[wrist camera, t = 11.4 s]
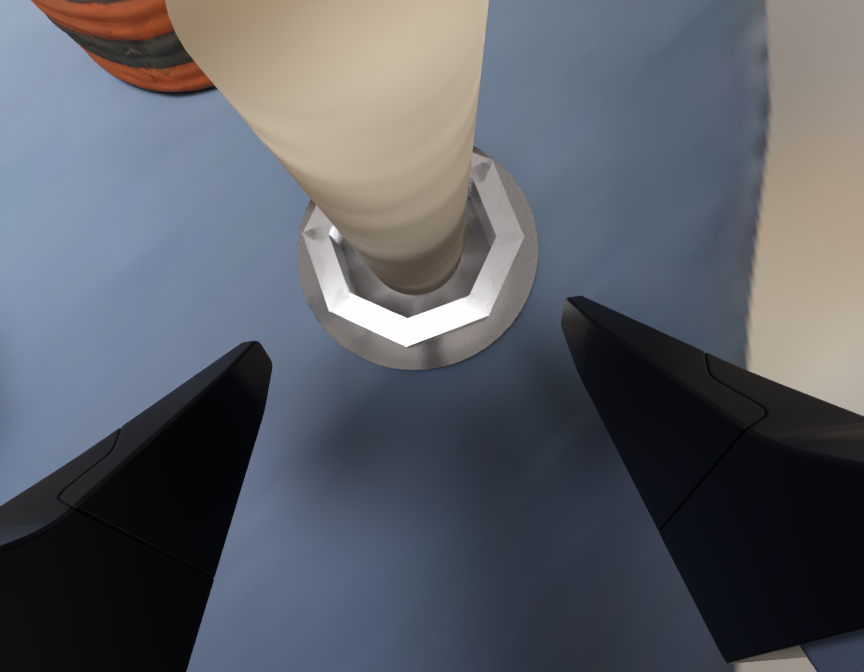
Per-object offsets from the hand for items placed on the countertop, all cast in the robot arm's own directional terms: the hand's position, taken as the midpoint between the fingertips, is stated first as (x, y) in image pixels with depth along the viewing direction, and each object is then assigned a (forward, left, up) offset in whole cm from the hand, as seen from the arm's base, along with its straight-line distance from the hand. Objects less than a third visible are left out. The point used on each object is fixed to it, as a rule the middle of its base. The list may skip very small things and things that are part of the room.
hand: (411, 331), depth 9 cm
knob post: (+3, -4, -7) cm, 9 cm away
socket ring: (+3, -4, -8) cm, 10 cm away
